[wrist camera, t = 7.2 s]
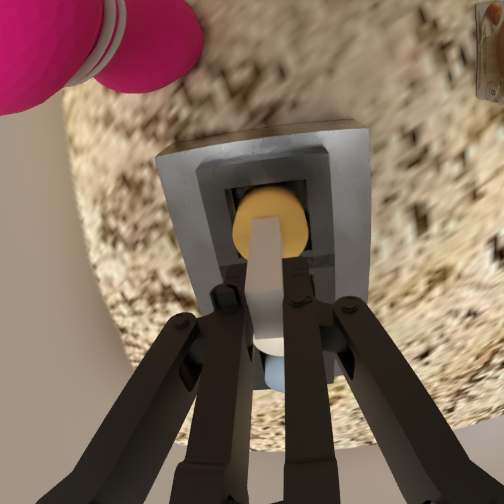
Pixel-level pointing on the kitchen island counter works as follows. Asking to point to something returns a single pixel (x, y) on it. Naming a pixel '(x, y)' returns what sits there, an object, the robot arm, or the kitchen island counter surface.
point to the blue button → (275, 372)
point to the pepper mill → (93, 46)
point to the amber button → (270, 205)
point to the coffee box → (490, 51)
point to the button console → (269, 171)
